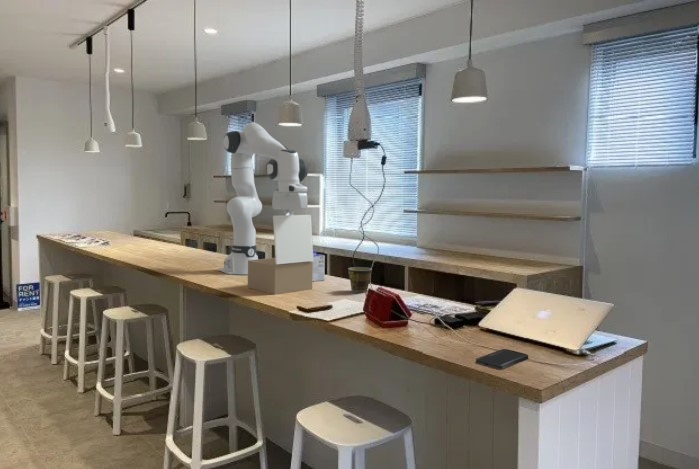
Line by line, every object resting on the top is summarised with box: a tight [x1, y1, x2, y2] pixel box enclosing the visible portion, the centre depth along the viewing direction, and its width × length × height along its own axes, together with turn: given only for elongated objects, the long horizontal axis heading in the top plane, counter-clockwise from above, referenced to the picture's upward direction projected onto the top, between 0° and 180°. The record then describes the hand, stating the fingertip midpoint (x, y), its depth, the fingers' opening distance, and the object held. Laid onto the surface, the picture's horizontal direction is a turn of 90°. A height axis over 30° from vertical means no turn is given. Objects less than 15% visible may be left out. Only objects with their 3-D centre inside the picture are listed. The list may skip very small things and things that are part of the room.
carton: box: [247, 257, 313, 295], centre depth 237 cm, size 20×20×12 cm
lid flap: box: [272, 214, 314, 264], centre depth 229 cm, size 20×20×1 cm
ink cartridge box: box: [310, 249, 326, 282], centre depth 259 cm, size 10×6×14 cm, turn 126°
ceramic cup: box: [347, 266, 372, 294], centre depth 232 cm, size 13×10×10 cm
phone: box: [475, 348, 529, 370], centre depth 144 cm, size 8×1×15 cm
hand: (289, 220), depth 230 cm, fingers closed
